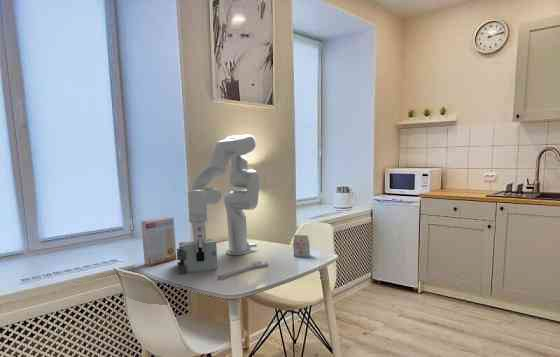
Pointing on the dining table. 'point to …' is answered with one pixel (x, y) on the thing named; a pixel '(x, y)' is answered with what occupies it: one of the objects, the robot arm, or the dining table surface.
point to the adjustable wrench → (243, 269)
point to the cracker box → (158, 240)
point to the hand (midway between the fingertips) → (200, 259)
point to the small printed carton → (301, 246)
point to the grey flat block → (209, 257)
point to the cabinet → (183, 257)
